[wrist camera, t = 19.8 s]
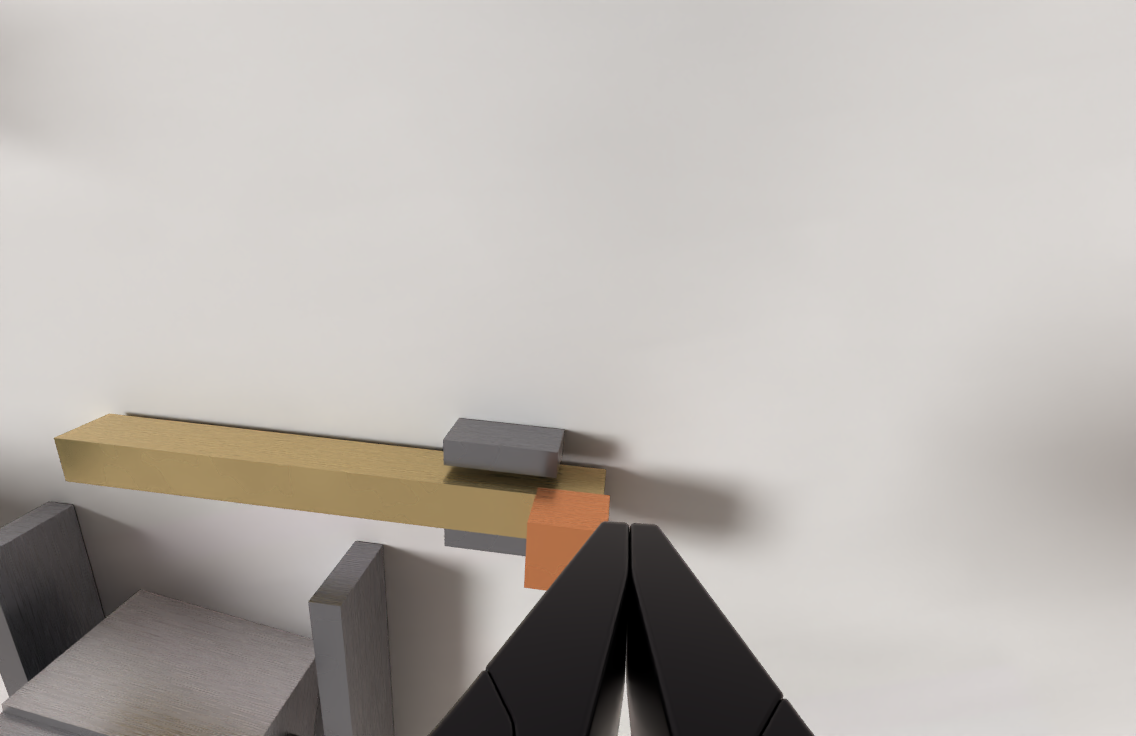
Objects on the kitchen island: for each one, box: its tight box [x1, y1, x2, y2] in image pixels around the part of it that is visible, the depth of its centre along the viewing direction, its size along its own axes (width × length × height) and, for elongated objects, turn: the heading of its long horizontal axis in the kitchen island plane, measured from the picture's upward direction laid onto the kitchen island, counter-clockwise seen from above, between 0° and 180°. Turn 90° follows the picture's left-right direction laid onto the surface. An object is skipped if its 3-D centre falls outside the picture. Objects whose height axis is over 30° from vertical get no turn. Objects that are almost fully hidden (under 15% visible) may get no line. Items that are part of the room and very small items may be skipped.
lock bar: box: [54, 414, 610, 590], centre depth 19 cm, size 20×2×4 cm, turn 86°
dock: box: [0, 418, 564, 736], centre depth 23 cm, size 23×23×4 cm
